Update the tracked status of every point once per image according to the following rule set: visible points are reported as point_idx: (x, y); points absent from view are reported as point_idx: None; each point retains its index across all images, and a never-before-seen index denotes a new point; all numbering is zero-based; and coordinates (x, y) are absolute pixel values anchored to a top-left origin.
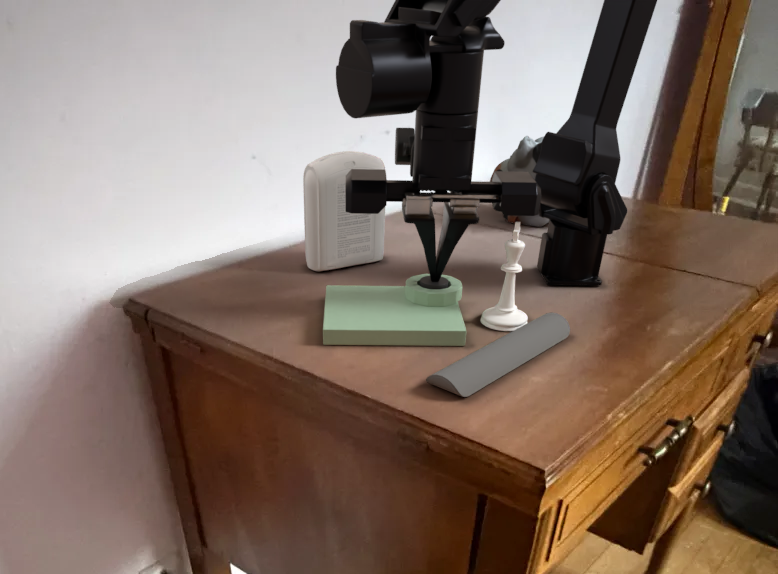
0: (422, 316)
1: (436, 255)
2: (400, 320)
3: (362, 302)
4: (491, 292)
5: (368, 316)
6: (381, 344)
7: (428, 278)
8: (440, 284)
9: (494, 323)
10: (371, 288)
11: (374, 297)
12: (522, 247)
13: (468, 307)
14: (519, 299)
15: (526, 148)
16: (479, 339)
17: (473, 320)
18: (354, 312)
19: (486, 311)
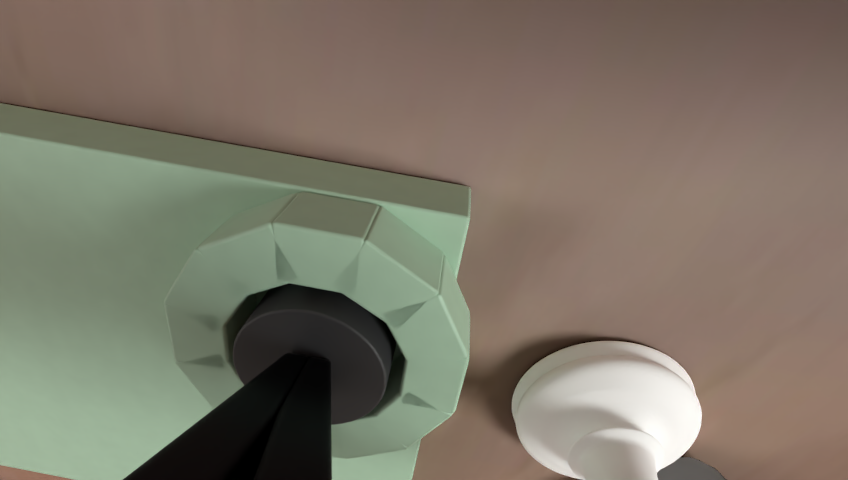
0: None
1: (262, 457)
2: None
3: (33, 322)
4: (757, 92)
5: (89, 421)
6: None
7: (278, 346)
8: (334, 418)
9: (535, 459)
10: (22, 177)
11: (68, 283)
12: None
13: (523, 265)
14: (843, 217)
15: None
16: (460, 473)
17: (493, 371)
18: (33, 389)
19: (542, 408)
